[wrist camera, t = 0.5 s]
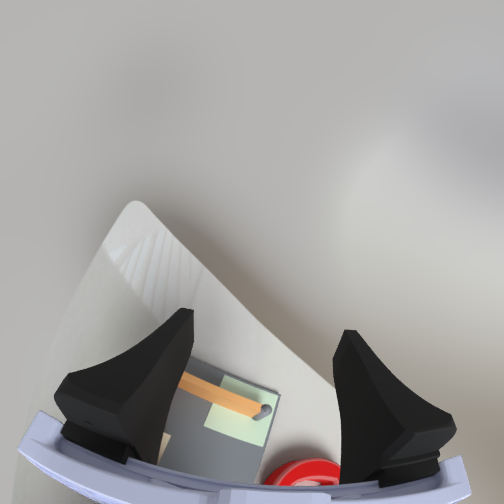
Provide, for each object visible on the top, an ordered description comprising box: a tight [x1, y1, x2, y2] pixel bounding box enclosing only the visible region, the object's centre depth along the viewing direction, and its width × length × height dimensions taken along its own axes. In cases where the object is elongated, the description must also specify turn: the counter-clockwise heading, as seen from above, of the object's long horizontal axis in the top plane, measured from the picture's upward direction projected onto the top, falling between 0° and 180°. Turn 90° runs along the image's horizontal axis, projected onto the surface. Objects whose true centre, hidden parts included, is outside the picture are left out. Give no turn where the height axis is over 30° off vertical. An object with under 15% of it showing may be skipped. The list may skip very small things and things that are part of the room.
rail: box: [178, 371, 272, 421], centre depth 21 cm, size 11×11×3 cm
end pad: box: [204, 375, 278, 447], centre depth 26 cm, size 6×6×1 cm
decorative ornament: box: [263, 458, 341, 486], centre depth 19 cm, size 10×10×3 cm
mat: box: [157, 357, 281, 484], centre depth 22 cm, size 16×15×1 cm
